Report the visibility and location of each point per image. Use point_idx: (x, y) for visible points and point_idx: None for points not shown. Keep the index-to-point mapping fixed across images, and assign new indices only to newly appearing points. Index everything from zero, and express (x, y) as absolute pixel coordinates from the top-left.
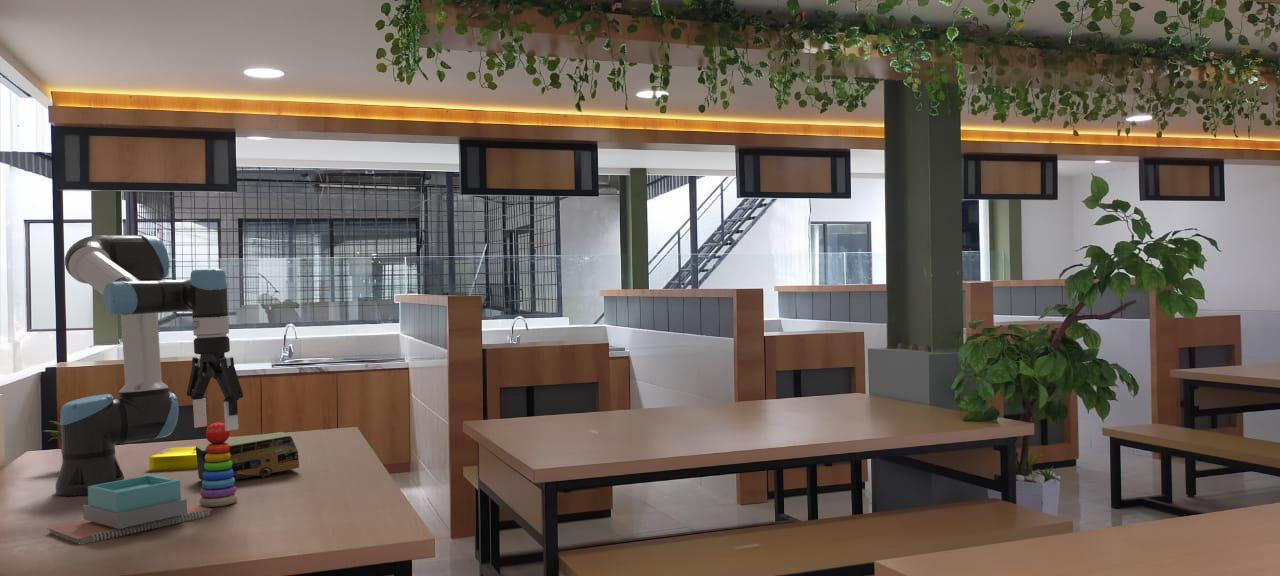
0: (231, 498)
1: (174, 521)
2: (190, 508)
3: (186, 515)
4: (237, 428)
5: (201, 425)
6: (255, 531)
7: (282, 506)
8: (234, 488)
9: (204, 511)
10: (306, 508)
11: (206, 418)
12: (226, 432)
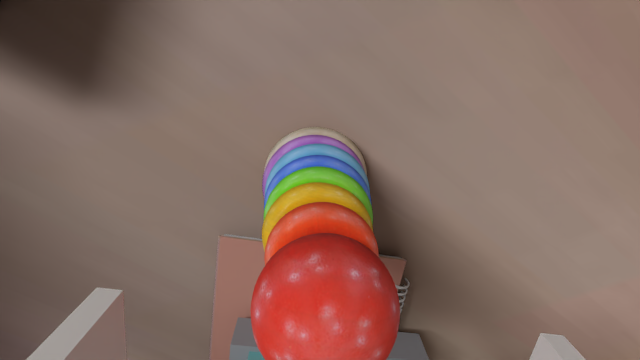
0: (365, 173)
1: None
2: None
3: None
4: (564, 344)
5: (119, 335)
6: (624, 306)
7: (530, 126)
8: (358, 160)
9: (401, 276)
10: (620, 117)
11: (84, 339)
12: (398, 298)
